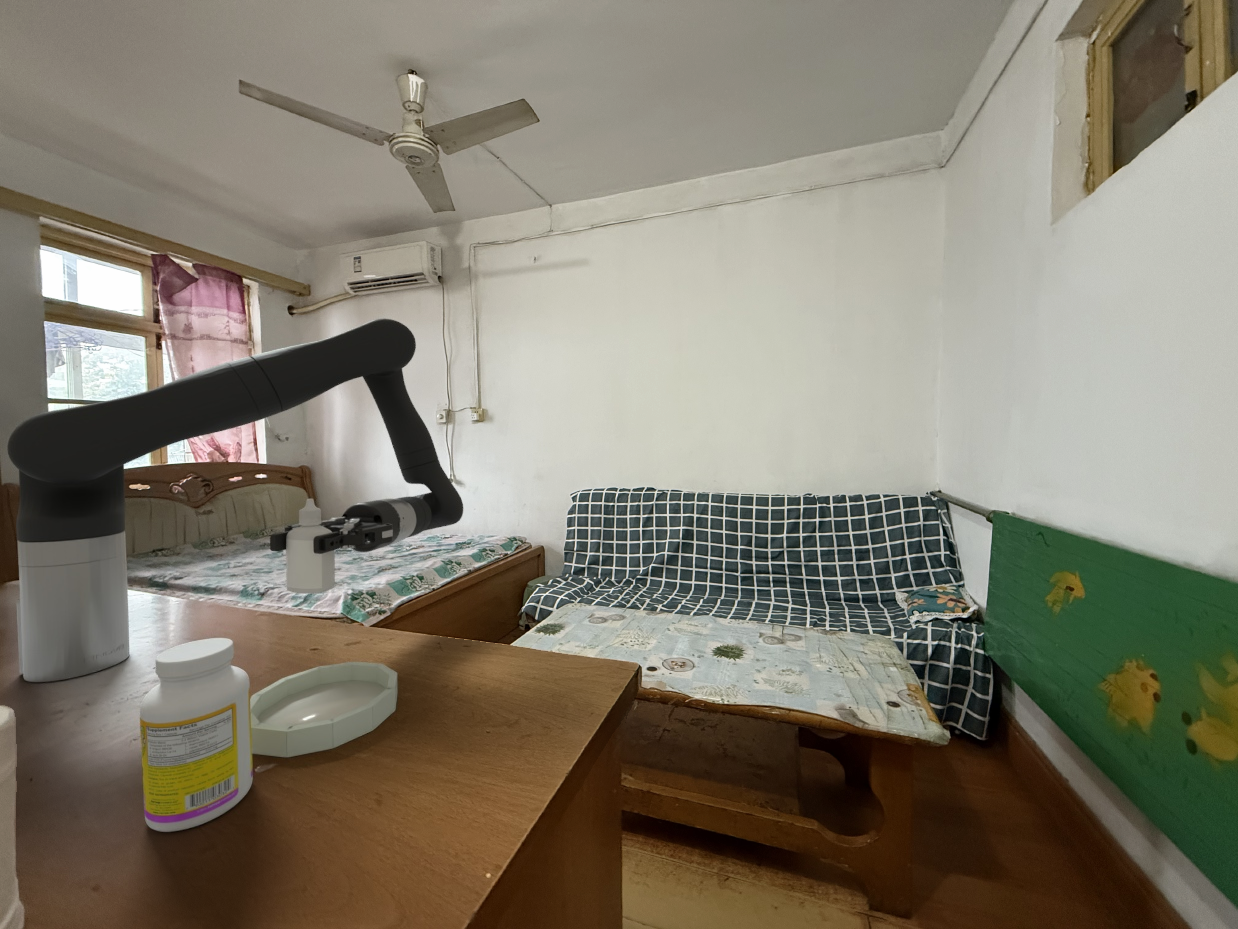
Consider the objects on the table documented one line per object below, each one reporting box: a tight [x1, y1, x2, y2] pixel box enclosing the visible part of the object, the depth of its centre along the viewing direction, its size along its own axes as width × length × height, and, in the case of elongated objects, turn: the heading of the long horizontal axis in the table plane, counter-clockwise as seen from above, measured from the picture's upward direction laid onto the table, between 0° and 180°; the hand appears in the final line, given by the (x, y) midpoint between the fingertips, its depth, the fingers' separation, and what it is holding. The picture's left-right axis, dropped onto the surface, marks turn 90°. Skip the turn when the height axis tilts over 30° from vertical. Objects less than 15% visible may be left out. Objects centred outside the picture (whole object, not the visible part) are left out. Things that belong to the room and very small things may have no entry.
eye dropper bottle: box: [285, 498, 336, 595], centre depth 62 cm, size 4×6×12 cm
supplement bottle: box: [139, 637, 254, 833], centre depth 39 cm, size 7×7×13 cm
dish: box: [250, 660, 398, 758], centre depth 52 cm, size 14×14×2 cm
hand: (294, 544), depth 60 cm, fingers closed on eye dropper bottle, 5 cm apart
